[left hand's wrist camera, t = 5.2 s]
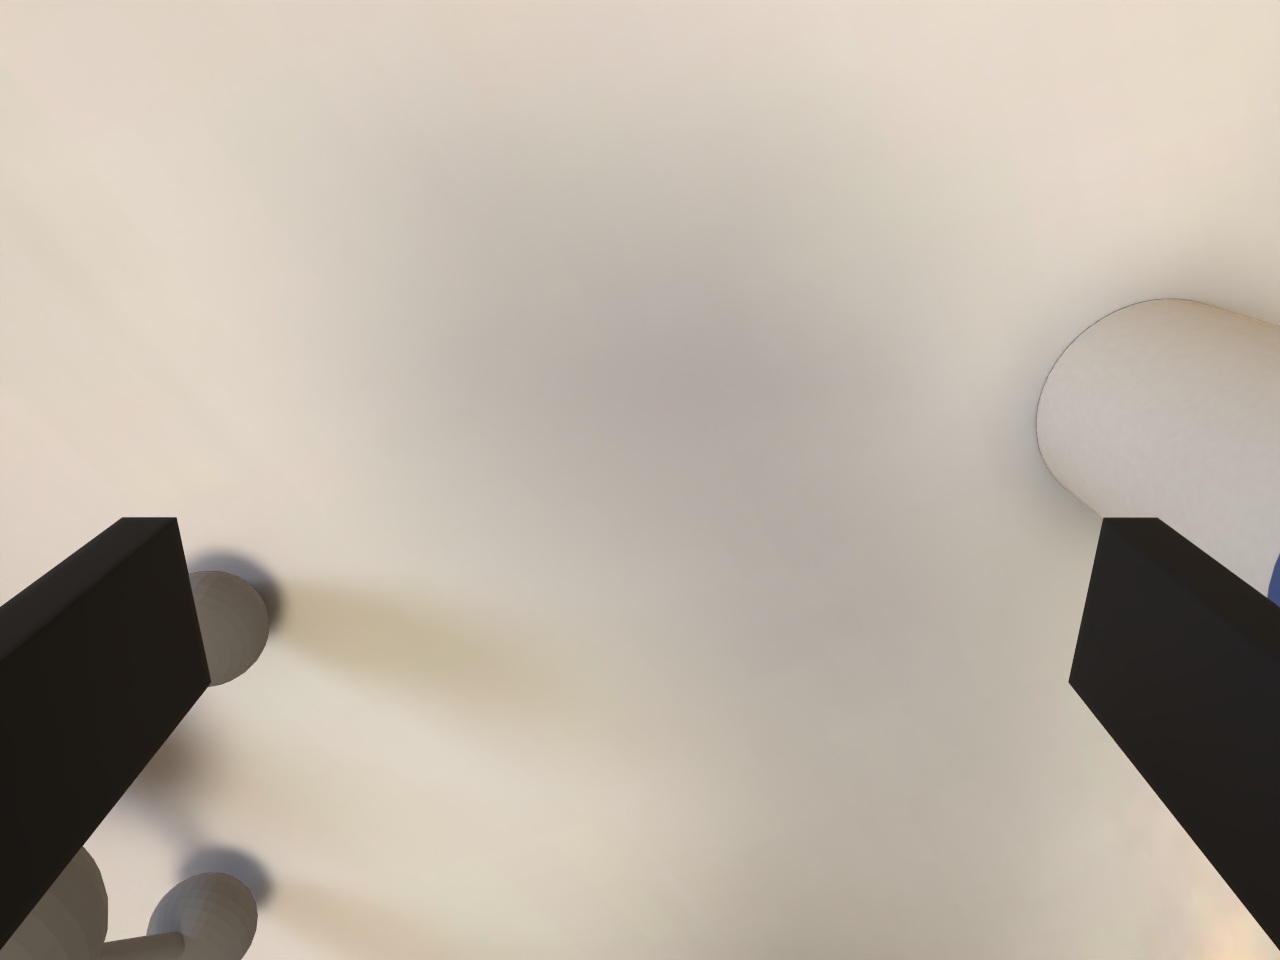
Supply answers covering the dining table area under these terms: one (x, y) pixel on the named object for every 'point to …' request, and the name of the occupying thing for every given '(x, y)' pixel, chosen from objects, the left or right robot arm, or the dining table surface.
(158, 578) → the left robot arm
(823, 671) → the dining table surface
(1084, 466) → the jar
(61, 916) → the molecular model
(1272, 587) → the lid
